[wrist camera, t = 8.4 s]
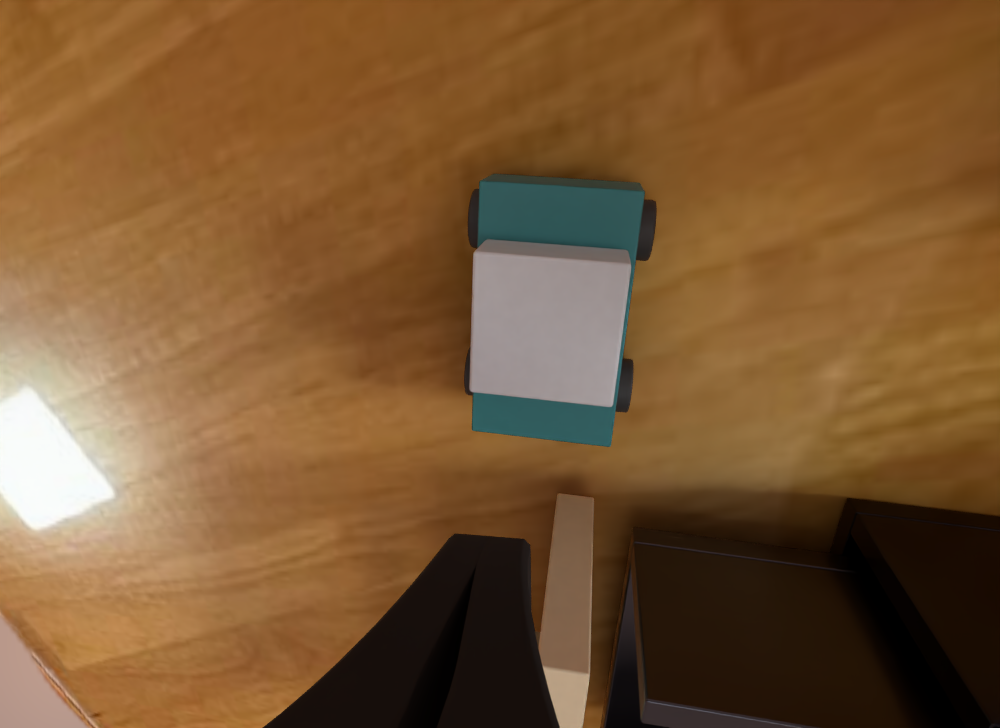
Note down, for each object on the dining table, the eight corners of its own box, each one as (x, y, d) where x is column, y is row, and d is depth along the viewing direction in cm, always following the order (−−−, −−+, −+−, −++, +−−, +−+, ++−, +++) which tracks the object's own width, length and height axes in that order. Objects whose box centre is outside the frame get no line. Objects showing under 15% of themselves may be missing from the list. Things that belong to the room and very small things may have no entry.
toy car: (480, 170, 17) (445, 185, 13) (656, 181, 16) (672, 200, 13) (473, 393, 20) (442, 457, 16) (623, 409, 19) (629, 481, 15)
